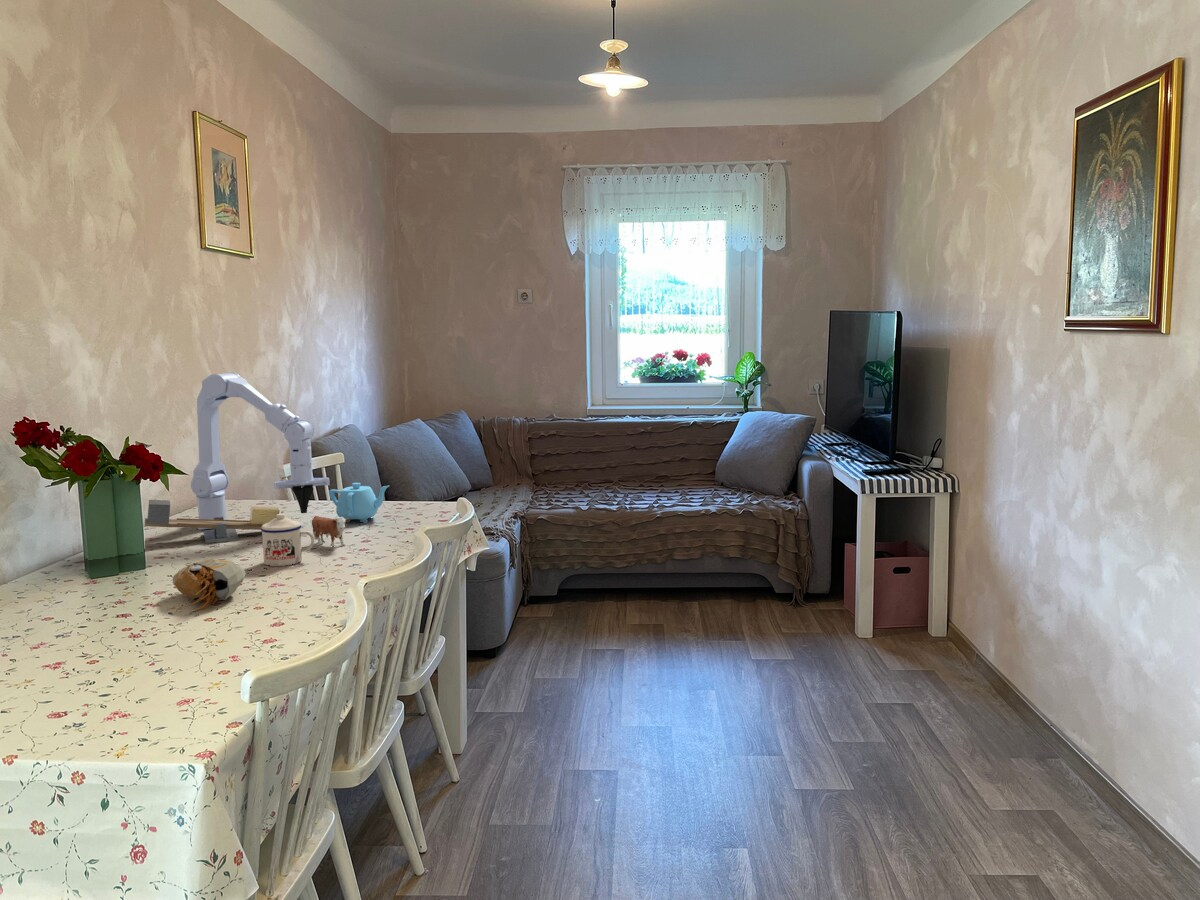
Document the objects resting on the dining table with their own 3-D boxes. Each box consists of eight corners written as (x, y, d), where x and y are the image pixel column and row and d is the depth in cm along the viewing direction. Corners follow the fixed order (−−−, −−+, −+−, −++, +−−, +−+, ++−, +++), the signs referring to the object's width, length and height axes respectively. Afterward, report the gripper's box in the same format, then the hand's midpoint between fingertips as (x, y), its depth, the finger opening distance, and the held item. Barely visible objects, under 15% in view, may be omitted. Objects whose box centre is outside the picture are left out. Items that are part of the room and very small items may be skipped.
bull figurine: (341, 550, 226) (339, 519, 225) (309, 543, 234) (307, 512, 233) (355, 547, 230) (353, 516, 229) (323, 540, 238) (321, 510, 237)
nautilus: (228, 618, 176) (148, 625, 175) (257, 581, 197) (187, 587, 196) (222, 579, 174) (141, 586, 173) (253, 546, 195) (181, 552, 194)
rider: (249, 522, 247) (250, 506, 247) (276, 523, 250) (277, 507, 250) (250, 525, 244) (252, 509, 243) (278, 526, 247) (279, 510, 247)
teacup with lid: (259, 568, 211) (256, 519, 209) (266, 558, 220) (263, 511, 218) (313, 565, 213) (310, 516, 211) (317, 555, 222) (315, 509, 220)
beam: (145, 521, 237) (146, 499, 237) (287, 525, 254) (289, 505, 253) (144, 526, 231) (146, 504, 230) (291, 530, 247) (293, 509, 246)
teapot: (329, 521, 264) (325, 483, 262) (374, 512, 273) (371, 476, 271) (346, 528, 254) (343, 490, 252) (393, 519, 263) (390, 481, 261)
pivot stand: (203, 534, 246) (202, 518, 246) (234, 531, 250) (233, 515, 249) (205, 543, 235) (204, 526, 235) (238, 540, 239) (237, 523, 238)
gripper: (275, 468, 243) (278, 517, 245) (330, 464, 249) (333, 512, 251) (272, 464, 249) (275, 513, 251) (326, 461, 256) (328, 508, 257)
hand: (303, 512), depth 251 cm, fingers closed
